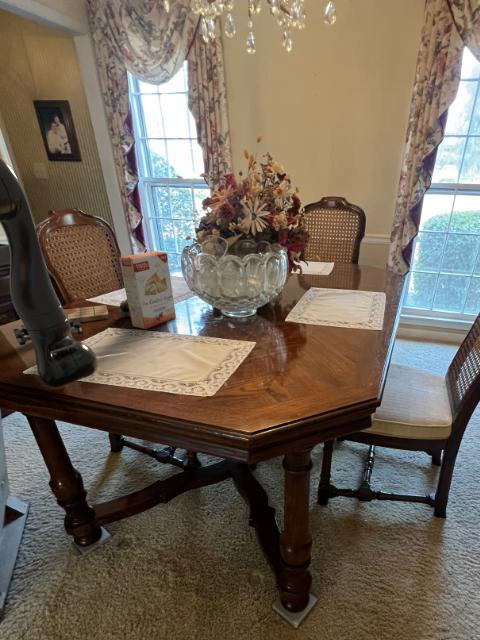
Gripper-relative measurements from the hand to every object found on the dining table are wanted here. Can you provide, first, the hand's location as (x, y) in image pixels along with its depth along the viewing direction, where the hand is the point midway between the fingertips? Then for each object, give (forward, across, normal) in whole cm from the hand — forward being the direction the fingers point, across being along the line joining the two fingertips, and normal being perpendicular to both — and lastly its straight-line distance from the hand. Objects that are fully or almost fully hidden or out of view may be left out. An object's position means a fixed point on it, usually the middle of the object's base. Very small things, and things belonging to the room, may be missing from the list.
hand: (45, 323), depth 99 cm
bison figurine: (+15, -27, +7) cm, 32 cm away
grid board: (+26, -12, +7) cm, 30 cm away
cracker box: (+6, -30, +7) cm, 31 cm away
